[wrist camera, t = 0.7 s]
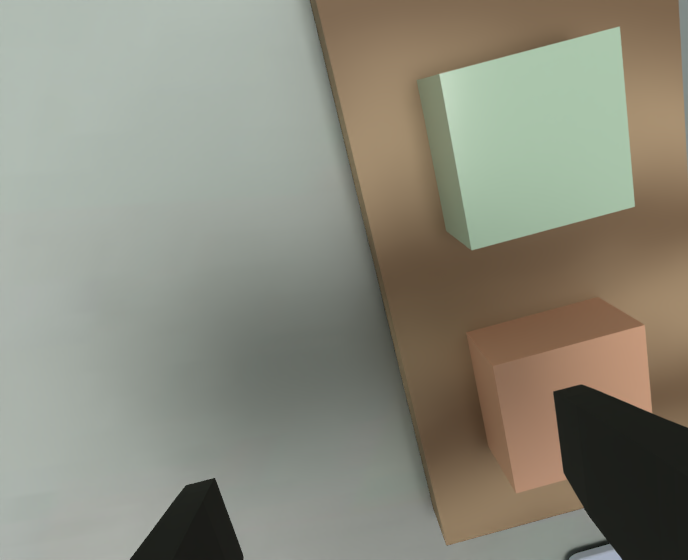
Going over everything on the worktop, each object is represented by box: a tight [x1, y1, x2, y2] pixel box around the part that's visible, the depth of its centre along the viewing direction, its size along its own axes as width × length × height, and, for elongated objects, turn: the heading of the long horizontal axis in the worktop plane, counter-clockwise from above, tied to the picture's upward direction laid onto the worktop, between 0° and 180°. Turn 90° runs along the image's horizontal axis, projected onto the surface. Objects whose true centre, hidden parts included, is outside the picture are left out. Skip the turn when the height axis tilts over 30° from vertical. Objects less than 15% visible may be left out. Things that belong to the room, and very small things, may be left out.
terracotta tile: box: [466, 297, 652, 493], centre depth 17 cm, size 4×4×2 cm
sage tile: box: [417, 26, 635, 250], centre depth 15 cm, size 4×4×2 cm
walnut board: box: [310, 0, 688, 545], centre depth 18 cm, size 20×10×2 cm, turn 14°
